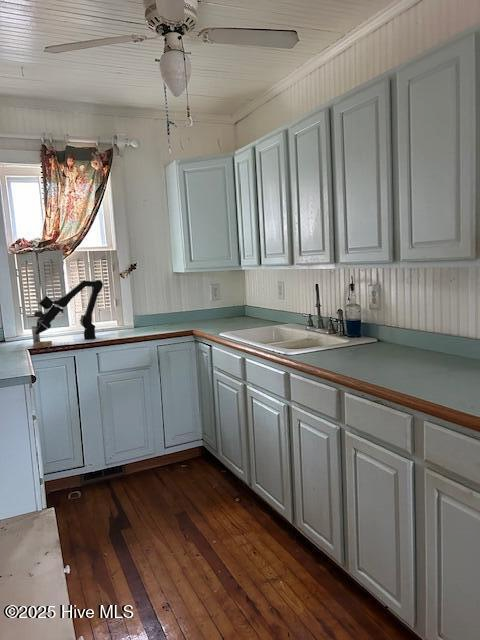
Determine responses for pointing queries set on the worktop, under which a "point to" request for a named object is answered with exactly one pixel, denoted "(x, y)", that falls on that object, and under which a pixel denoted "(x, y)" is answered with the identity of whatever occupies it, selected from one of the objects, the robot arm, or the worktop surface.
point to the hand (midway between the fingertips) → (34, 333)
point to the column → (35, 337)
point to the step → (42, 344)
